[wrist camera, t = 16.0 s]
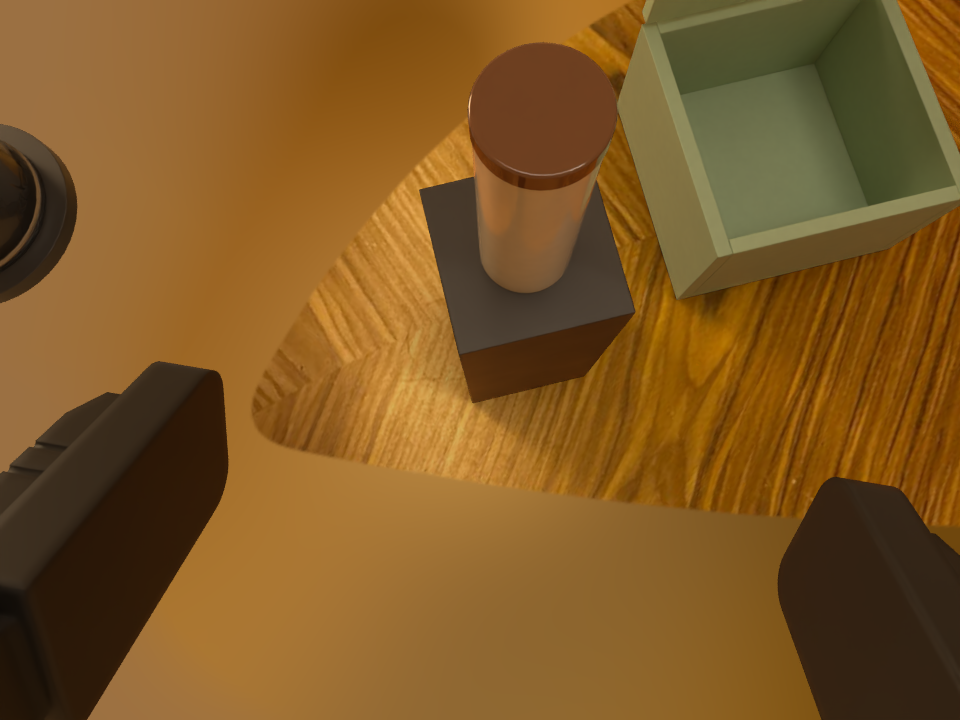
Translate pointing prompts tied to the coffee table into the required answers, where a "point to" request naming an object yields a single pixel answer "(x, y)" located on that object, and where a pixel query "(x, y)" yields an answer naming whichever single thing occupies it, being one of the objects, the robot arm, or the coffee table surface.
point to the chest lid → (679, 8)
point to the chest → (784, 138)
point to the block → (525, 301)
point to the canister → (536, 158)
